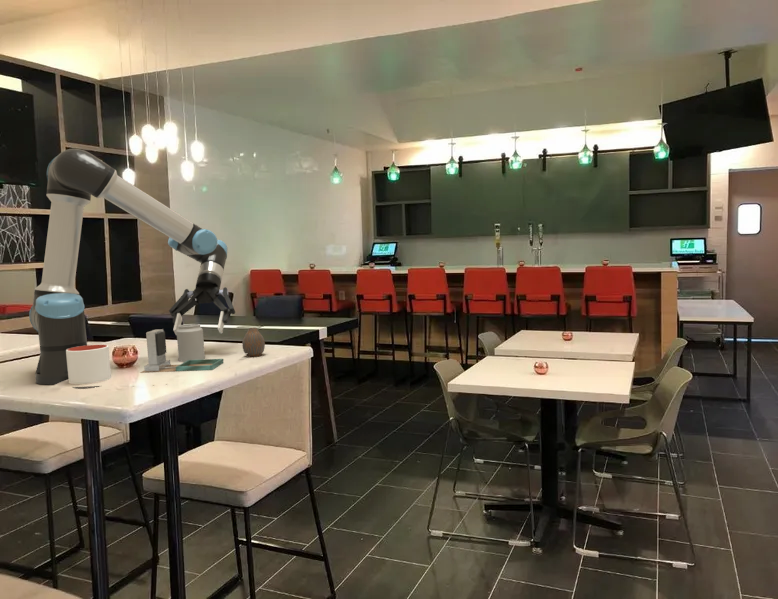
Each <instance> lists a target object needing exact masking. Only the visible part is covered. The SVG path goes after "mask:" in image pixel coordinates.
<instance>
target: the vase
mask: <svg viewBox="0 0 778 599" xmlns="http://www.w3.org/2000/svg"><path fill="white" fill-rule="evenodd" d="M241 342H242V344H241V345H242V350H243V352H244V354H245V355H246V356H247V357H249V356H250V357H253V358H255V357H258V356H259V357H260V356H261V355H262V354H263V353H264V351H265V349H266V348H265V347H266V342H265V339H264V336H263V335H262V333H261V332H260V331H259V330H258V328H257V327H248V329H247V332H246V333H245V335H244V336H243V338H242V341H241Z"/></svg>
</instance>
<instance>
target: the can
mask: <svg viewBox="0 0 778 599" xmlns="http://www.w3.org/2000/svg"><path fill="white" fill-rule="evenodd" d="M178 327H179V329H178V330H177V335H176V341H177V354H178V361H179V362H181V363H184V362H186V361H188V360H202V359H206V354H205V342H204V330H203V328H202V327H201V324H200V323H186V324H181V325H180V326H178Z"/></svg>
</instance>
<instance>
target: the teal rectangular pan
mask: <svg viewBox="0 0 778 599" xmlns="http://www.w3.org/2000/svg"><path fill="white" fill-rule="evenodd" d="M223 364H224V358H210V359H207V358H205V359H202V360H188V361H186V362H181V363H180V364H170V366H169V367H165V368H164V369H163V370H161V371H153V372H152V373H170V372H171V373H172V372H173V373H175V372H197V371H198V372H199V371H213V370H215V369H216V368H218V367H220V366H221V365H223ZM139 373H140V374H145V373H151V372H145V369H144V370H143V371H140V372H139Z"/></svg>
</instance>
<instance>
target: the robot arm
mask: <svg viewBox="0 0 778 599" xmlns="http://www.w3.org/2000/svg"><path fill="white" fill-rule="evenodd" d="M46 179H47V186H46V193H45V194H46V197H47V198H48V200H49V201H50V202H51V203H50V210H49V219H48V228H47V236H46V243H45V244H46V245H45V253H44V262H43V267H42V276H41V282H40V284H39V285H37V286H36V287H35V288H34V291H33V301H32V306H31V307H30V309H29V314H28V315H29V316H28V317H29V322H30V324H31V326H32V328H33V329H34V330H36V332H37V333H38V334H37V335H38V342H39V358H38V362H37V367H36V370H35V374H34V378H35V379H34V380H35V383H36V384H40V385H56V384H60V383H62V382H65V381H67V380H68V381H69V379H68V368H67V357H66V350H67V349H69V348H73V347H79V346H87V345H88V340H87V330H86V329H87V327H86V316H85V307H86V306H85V304H84V298H83V297H82V296H81V295H80V292H79V291H78V290H77V289H76V287H75V283H76V276H77V273H76V272H77V269H78V268H77V267H78V258H79V250H80V243H81V242H80V241H81V235H82V225H83V220H84V219H83V218H84V210H85V207H86V206H87V205H89V204H90V203H91V198H92V196H93V197H94V198H96V199H101V198H102V199H105V200H106V201H108V202H109V203H111V204H113V205H115V206H117V207H118V208H120V209H122V210H123V211H125V212H127V213H128V214H130V215H132V216H133V217H135V218H136V219H138V220H140V221H142V222H143V223H144V224H147V225H148V226H150V227H152V228H154V230H157V231H158V232H160V233H162V234H164V235H165V236H167V237H168V241H167V245H168V246H169V247H170V248H172V249H174V250H175V251H177V252H180V253H181V254H183V255H185V256H187V257H188V258H191V259H193V260H194V261H196V262H198V263H200V267H199V271H198V274H197V275H198V276H197V279H196V283H195V288H194V290H189V289H188V288H186V289H184V291H183V293H182V295H181V296H180V297H179V298H178V299H177V301H176V302H175V303H174V304H173V305H172V306H171V307H170V309H169V310H168V312H169V313H170V315H171V317H173V318H172V323H173V330H172V331H173V332H174V334H175V336H177V330H178V329H179V327H178V326H180V325H182V322H183V316H184V315H185V314H187V313H188V312H189V311H190V310H191V309H193V308H194V307H195V306H198V305H199V304H211V303H213V304H214V305H215V306H216V307H217V308H218V309H220V314H219V320H218V324H217V330H218V333H219V334H223V332H224V327H225V324H228V321H229V315H231V314H232V315H235V314H236V310H235V306H234V305H233V303H232V301H231V299H230V292H229V290H228V287H222V289H221V284H222V280H223V275H224V270H225V266H226V262H227V258H228V246H227V243H225V241H224V240H221V239H218V238H217V235H216V234H215V233H214V232H213V231H212V230H210V229H205V228H202V227H200V226H199V225H197V224H195V223H194V222H192V221H190V220H189V219H188V218H186V217H184V216H182V215H181V214H179V212H176V211H174V210H173V209H172V208H170V207H168V206H167V205H165V204H164V203H162V202H161V201H158V200H157V199H156V198H154V197H153V196H152V195H150V194H147V192H145V191H143V190H141V189H140V188H138V187H137V186H135V185H133V183H130V182H128V180H125V178H122V177H121V176H119V175H118V172H117V170H116V169H115V168H113V167H111V166H110V165H109V164H107V163H106V162H104V161H103V160H101V159H100V158H98V157H97V156H95V155H93V154H92V153H90V152H88V151H87V150H84V149H80V148H69V149H65V150H63V151H61V152H60V153H58V155H57V156H55V157H54V158H53V159H51V161H50V162H49V163H48V166H47V169H46ZM220 295H221V296H222V297H223V298H224V299H225V302H226V304H227V307H226V306H225V304H224V303H223V302H222V301H221V300H220V299H219V298H218V297H219V296H220Z"/></svg>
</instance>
